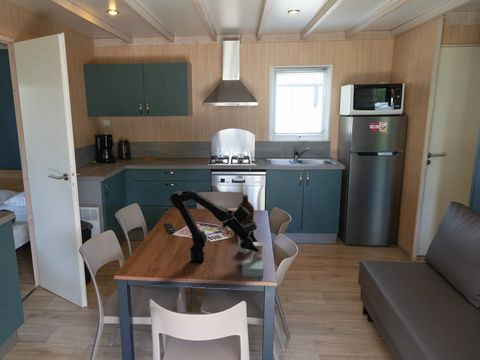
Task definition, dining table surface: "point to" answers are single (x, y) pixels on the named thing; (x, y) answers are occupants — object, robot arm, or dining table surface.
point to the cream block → (258, 254)
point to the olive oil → (249, 207)
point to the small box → (241, 248)
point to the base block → (252, 268)
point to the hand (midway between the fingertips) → (258, 248)
